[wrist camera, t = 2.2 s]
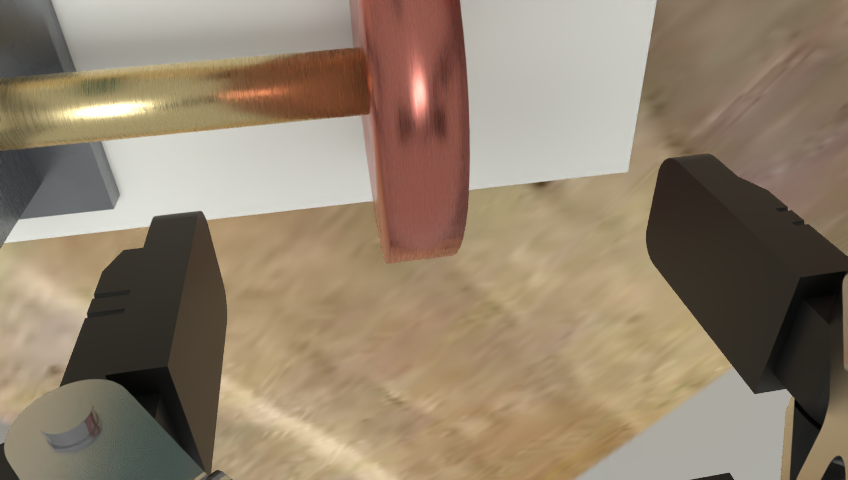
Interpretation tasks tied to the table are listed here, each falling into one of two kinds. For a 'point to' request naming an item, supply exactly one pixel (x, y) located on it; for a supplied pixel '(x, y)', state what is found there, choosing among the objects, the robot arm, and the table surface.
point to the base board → (343, 137)
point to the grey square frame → (53, 165)
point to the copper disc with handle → (298, 110)
